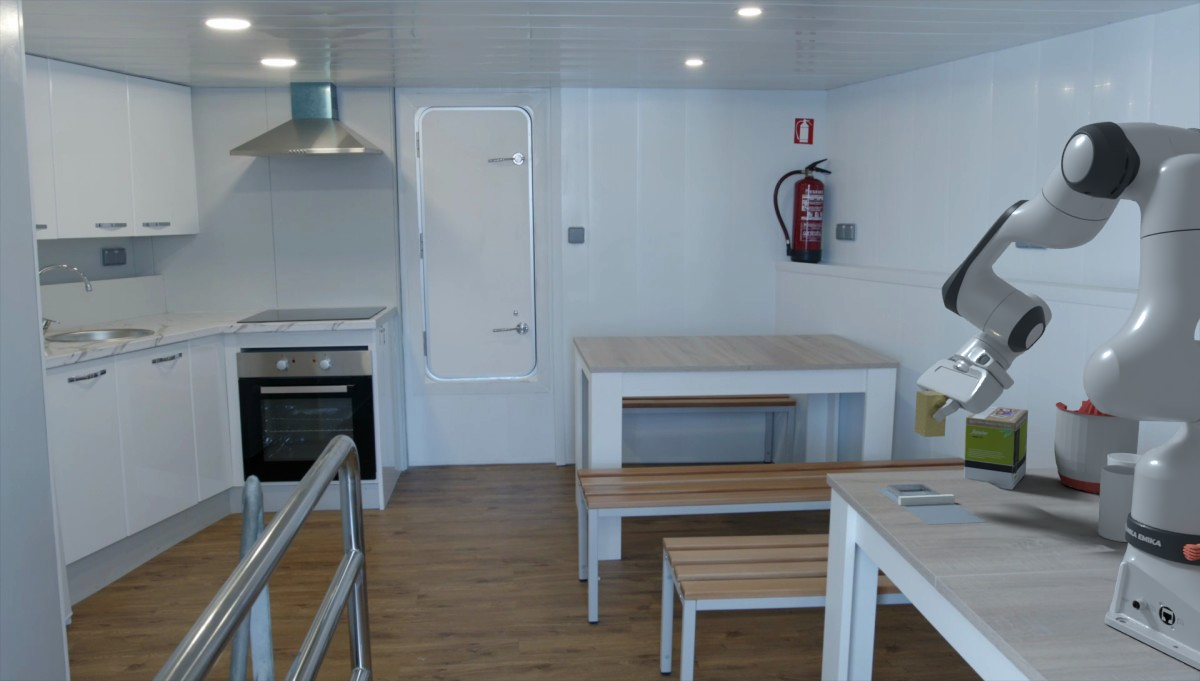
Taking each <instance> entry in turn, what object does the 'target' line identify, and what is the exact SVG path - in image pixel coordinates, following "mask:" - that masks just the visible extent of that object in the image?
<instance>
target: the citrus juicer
mask: <svg viewBox="0 0 1200 681" xmlns="http://www.w3.org/2000/svg"><path fill="white" fill-rule="evenodd" d="M1055 408H1056V412H1055V413H1056V416H1055V429H1054V443H1053V444H1054V448H1053V449H1054V459H1055V464H1056V469H1057V475H1058V477H1059V479H1060V481H1061V483H1062V484H1063V485H1065V486H1067V487H1068V488H1069V487H1070V488H1073V489H1077V490H1081V491H1085V492H1086V493H1090V494H1097V493H1100V480H1101V467H1102V466H1106V465H1107V455H1108V454H1111V453H1130V454H1137V455H1138V446H1139V445H1138V444H1139V432H1140V431H1139V430H1140V421H1137V420H1132V419H1127V418H1122V417H1117V416H1113V415H1108V414H1104V413H1101V412H1100V411H1099V410H1098V409H1096V408H1095V406H1094V405H1093V404H1092V403H1091V401H1090V400H1089V398H1088V399H1087V400H1082V401H1081V406H1080V407H1079V409H1078V410H1077V409H1076V410H1070V409H1068V405H1067V404H1065V403H1063V402H1062V401H1060V402H1056V403H1055Z"/></svg>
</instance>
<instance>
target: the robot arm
mask: <svg viewBox="0 0 1200 681" xmlns="http://www.w3.org/2000/svg"><path fill="white" fill-rule="evenodd" d="M1121 200H1126V201H1131V202H1135V203H1137V205H1138V207H1139V211H1140V231H1139V232H1140V233H1139V234H1140V235H1139V236H1140V237H1139V238H1140V240H1139V245H1140V248H1139V250H1140V251H1139V253H1140V254H1139V255H1140V258H1139V259H1140V260H1139V279H1138V290H1137V296H1136V299H1135V303H1134V305H1133V308H1132V311H1131V312H1130V315H1129V316H1128V317H1127V320H1126V321H1125V322H1124V324H1123V325H1122V326H1121V328H1120V329H1119V330H1118V331H1117V332H1116V333H1115V334H1114V335H1113V336H1112V337H1111V338H1109V339H1108V340H1107V341H1106V342H1104V343H1103V344H1101V345H1099V346H1098V347H1097V348H1096V349H1095V350H1094V351H1093V352H1092V353H1091V355H1090V356H1089V358H1088V359H1087V361H1086V364H1085V366H1084V369H1083V370H1084V371H1083V376H1082V377H1083V378H1082V379H1083V387H1084V391H1085V394H1086V396H1087V397H1088V399H1089V400H1090V401H1091V403H1092V404H1093V405H1094V406H1095V408H1096V409H1098V410H1099V411H1100V412H1101V413H1104V414H1108V415H1113V416H1117V417H1122V418H1127V419H1132V420H1137V421H1139V422H1165V423H1166V422H1168V423H1170V422H1171V423H1173V422H1174V423H1181V424H1180V426H1179V428H1178V429H1177V431H1176V433H1175V434H1174V435H1173V436H1172V437H1171V438H1169V439H1168V440H1167V441H1166V442H1164V443H1163V444H1160V445H1158V446H1155V447H1153V448H1151V449H1149V450H1148V451H1145V452H1144V453H1143V454H1142V456H1141V457H1140V459H1139V460H1138V462H1137V464H1136V466H1135V471H1134V484H1133V496H1132V508H1131V512H1130V513H1129V514H1128V516H1127V523H1126V524H1125V529H1126V533H1125V539H1126V540H1127V542H1126V543H1127V547H1126V551H1125V553H1124V555H1123V558H1122V560H1121V562H1120V565H1119V568H1118V573H1117V578H1116V582H1115V587H1114V592H1113V597H1112V600H1111V603H1110V606H1109V610H1108V611H1107V612H1106V614H1105V617H1104V623H1105V624H1106V625H1108V626H1110V627H1112V628H1114V629H1116V630H1118V631H1120V632H1122V633H1124V634H1126V635H1128V636H1130V637H1132V638H1134V639H1136V640H1138V641H1140V642H1142V643H1144V644H1146V645H1149V646H1150V647H1152V648H1154V649H1157V650H1158V651H1160V652H1162V653H1165V654H1167V655H1168V656H1171V657H1172V658H1174V659H1177V660H1178V661H1181V662H1183V663H1185V664H1187V665H1189V666H1191V667H1193V668H1195V669H1197V670H1199V671H1200V339H1199V340H1198V339H1195V334H1196V329H1197V326H1198V324H1199V321H1200V128H1197V127H1189V128H1185V127H1179V126H1174V125H1168V124H1167V125H1166V124H1158V123H1155V122H1144V121H1143V122H1131V121H1130V122H1113V121H1100V122H1094V123H1090V124H1087V125H1084V126H1082V127H1080V128H1078V129H1076V130H1075V131H1074V132H1073V134H1072V135H1071V136H1070V138H1069V139H1068V140H1067V142H1066V143H1065V146H1064V148H1063V151H1062V154H1061V158H1060V159H1059V161H1058V162H1057V164H1056V165H1055V167H1054V168H1053V170H1052V171H1051V173H1050V174H1049V175H1048V178H1047V179H1046V181H1045V183H1044V184H1043V186H1042V188H1041V189H1040V191H1039V192H1038V194H1036V195H1035V196H1034V197H1032V199H1020V200H1018V201H1017V202H1014V204H1012V205H1011V206H1010V207H1008V208H1007V209H1006V210H1005V211H1004V212H1002V214H1001V215H1000V216H999V217H998V218H997V219H996V220H995V222H994V223H993V224H992V225H991V226H990V228H989V229H988V230H987V231H986V233H985V234H984V235H983V237H982V238H981V239H980V240H979V241H978V243H977V244H976V245H975V247H974V248H972V250H971V252H970V253H969V254H968V255H967V257H965V259H964V260H963V261H962V262H961V263H960V265H958V267H957V268H956V269H955V270H954V271H953V272H952V273H951V274H950V275H949V276H948V277H947V279H946V280H945V282H943V285H942V287H941V296H942V301H943V305H944V307H945V308H946V309H947V310H949V311H950V312H953V314H955V315H957V316H958V317H961V318H963V319H965V321H968V322H969V323H971V324H972V325H973V326H974V327H976V328H977V329H979V330H980V331H978V332H977V333H975V334H973V335H972V336H971V337H970V338H969V339H968V340H967V341H966V342H965V343H964V344H963V345H962V346H961V347H960V348H959V349H958V350H957V351H956V352H955V353H954V354H953V356H951V357H949V358H942V359H939V360H938V361H936V362H935V363H934V364H933V365H931V366H930V367H929V368H928V369H927V370H926V371H925V372H924V373H922V374H921V375H920V376H919V377H918V378H917V381H916V385H917V387H919V389H920V391H936V392H939V393H941V394H944V395H945V396H946V397H947V401H946V404H945V405H944V406H942V407H941V408H939V409H935V410H934V411H933V412H932V413H931V417H932V418H933V419H934V420H936V421H937V422H941V421H942V420H943V419H944V418H945V417H946V418H947V417H948V416H951V415H952V414H955V413H956V412H957V411H958V410H959V409H962V410H964V411H967V412H969V413H971V414H972V413H974V414H979V413H981V412H984V411H985V410H986V409H987V408H989V407H992V405H993V404H994V403H995V402H996V401H997V400H998V399H999V398H1000V397H1001V396H1002V395H1003V394H1004V390H1009V389H1010V388H1011V387H1012V386H1013V385H1014V383H1015V381H1014V379H1013V378H1012V377H1011V375H1010V374H1008V370H1009V369H1010V368H1011V366H1012V365H1013V362H1014V361H1015V360H1016V358H1018V357H1019V356H1021V355H1023V354H1024V353H1026V351H1029V350H1031V348H1032V347H1033V346H1034V345H1035V344H1036V343H1037V342H1038V340H1040V338H1042V336H1043V335H1044V333H1045V331H1046V328H1047V326H1048V325H1049V323H1050V322H1051V320H1052V319H1053V318H1052V317H1053V313H1052V311H1051V308H1050V306H1049V305H1048V304H1047V302H1046V301H1045V300H1044V299H1043V298H1041V297H1040V296H1038V295H1036V294H1035V293H1032V292H1023V291H1021V290H1019V289H1018V288H1016V287H1015V286H1013V285H1012V284H1010V283H1009V282H1007V281H1006V280H1004V279H1002V278H1001V277H999V276H998V275H997V274H996V272H995V271H994V269H993V266H994V264H995V263H996V262H997V261H998V259H999V258H1000V257H1001V256H1002V255H1003V253H1004V252H1005V251H1006V250H1007V248H1008V247H1009V246H1010V245H1011V244H1012V243H1022V244H1023V243H1025V244H1030V245H1035V246H1038V247H1041V248H1046V249H1053V250H1054V249H1055V250H1067V249H1068V250H1069V249H1073V248H1078V247H1081V246H1083V245H1086V244H1087V243H1089V242H1091V241H1092V240H1094V239H1095V237H1096V236H1098V235H1099V233H1100V232H1101V230H1102V229H1103V228H1104V227H1105V225H1106V224H1107V222H1108V221H1109V219H1110V218H1111V217H1112V214H1113V213H1114V212H1115V210H1116V208H1117V207H1118V204H1119V203H1120V201H1121Z"/></svg>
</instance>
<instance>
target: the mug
mask: <svg viewBox="0 0 1200 681" xmlns="http://www.w3.org/2000/svg"><path fill="white" fill-rule="evenodd" d="M1134 471H1135V468H1134V467H1129V466H1121V465H1106V466H1102V467H1101V480H1100V492H1099V502H1098V504H1099V506H1098V523H1097V524H1098V525H1097V526H1098V528H1097V533H1098V535H1099V536H1101V537H1102V538H1105V539H1107V540H1110V541H1115V542H1121V543H1122V542H1123V543H1128V542H1127V540H1126V539H1125V533H1126V529H1125V524H1126V523H1127V516H1128V514H1129V513H1130V512H1131V508H1132V496H1133V484H1134Z"/></svg>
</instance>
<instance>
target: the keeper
mask: <svg viewBox="0 0 1200 681" xmlns="http://www.w3.org/2000/svg"><path fill="white" fill-rule="evenodd" d="M886 488H887V491H888V492H889V493H891V494H892V495H894V496H895V497H897V498H898V496H918V495H905V494H903V493H902V492H900V491H918V490H921V491H923V492H925V493H926V494H928V495H942V493H940V492H938V491H936V490H934V489H933V488H931V487H929V486H927V485H926V484H924V483H910V484H909V483H907V484H905V483H904V484H886Z"/></svg>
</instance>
